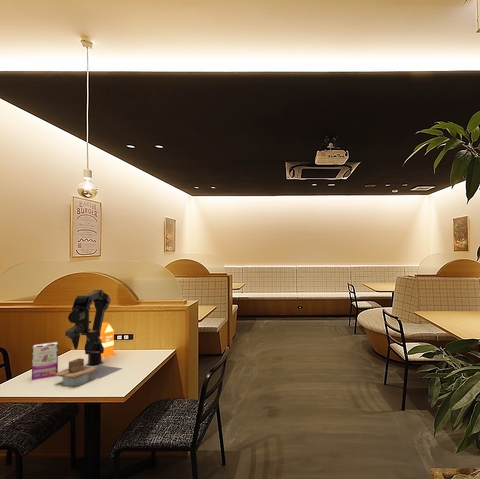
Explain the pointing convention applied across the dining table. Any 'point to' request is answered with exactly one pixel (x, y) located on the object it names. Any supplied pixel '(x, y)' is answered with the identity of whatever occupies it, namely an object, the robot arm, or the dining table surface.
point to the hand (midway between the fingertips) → (82, 350)
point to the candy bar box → (44, 360)
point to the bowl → (75, 380)
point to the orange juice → (107, 339)
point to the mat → (103, 371)
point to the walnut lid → (75, 369)
